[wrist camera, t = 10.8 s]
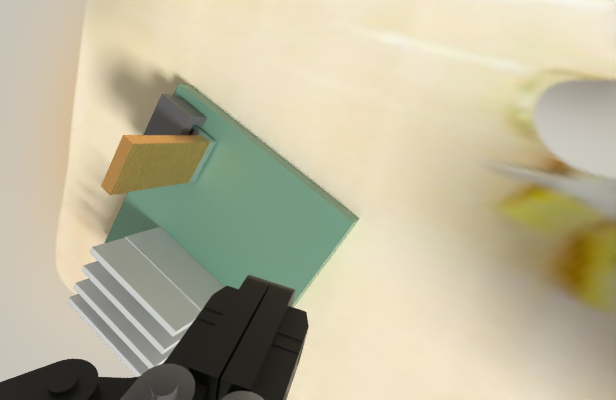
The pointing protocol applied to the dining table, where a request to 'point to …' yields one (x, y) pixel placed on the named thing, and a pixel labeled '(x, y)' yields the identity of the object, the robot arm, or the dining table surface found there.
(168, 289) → the heatsink board
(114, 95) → the dining table surface
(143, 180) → the upright wooden plank
